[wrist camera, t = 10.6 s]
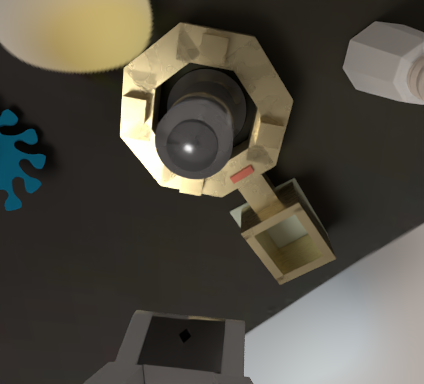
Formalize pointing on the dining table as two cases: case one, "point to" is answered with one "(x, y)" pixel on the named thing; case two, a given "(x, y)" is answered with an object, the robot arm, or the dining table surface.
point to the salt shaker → (387, 62)
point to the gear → (16, 160)
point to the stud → (200, 124)
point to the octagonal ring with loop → (241, 154)
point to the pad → (284, 229)
